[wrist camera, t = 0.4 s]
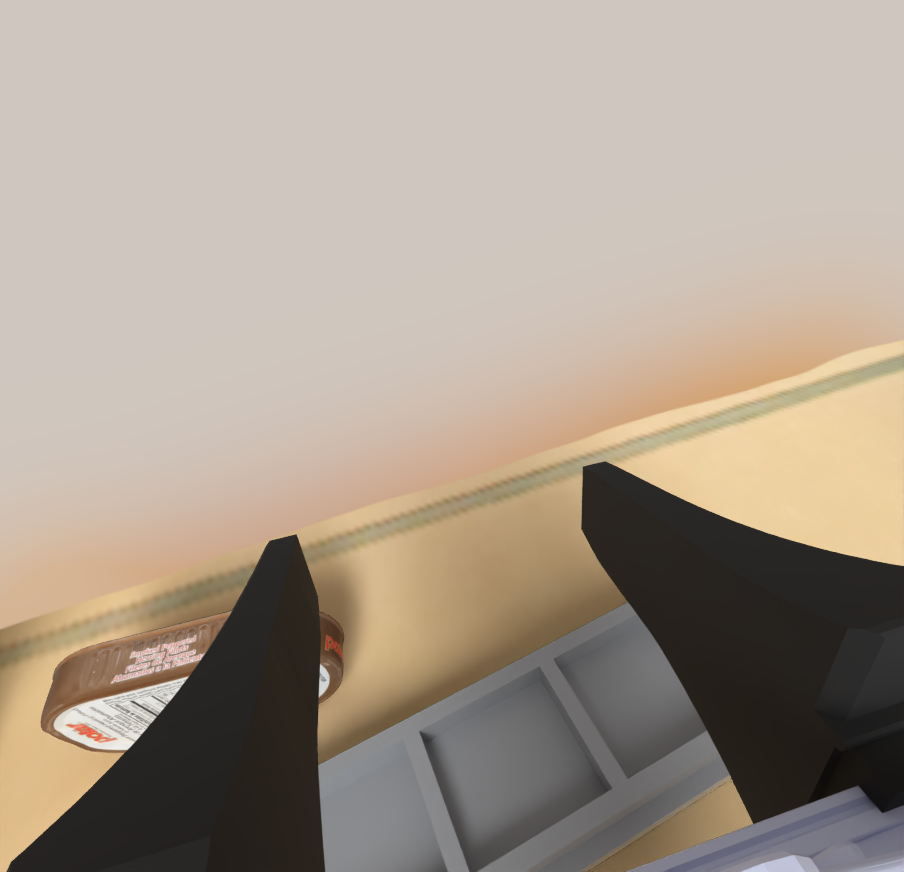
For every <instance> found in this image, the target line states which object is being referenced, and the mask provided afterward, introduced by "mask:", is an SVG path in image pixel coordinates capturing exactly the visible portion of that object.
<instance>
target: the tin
mask: <svg viewBox="0 0 904 872" xmlns="http://www.w3.org/2000/svg"><path fill="white" fill-rule="evenodd" d="M231 612H232V611H228V612H224V613H220V614H216V615H213V616H209V617H204V618H200V619H196V620H192V621H188V622H185V623H180V624H177V625H173V626H169V627H165V628H160V629H156V630H152V631H149V632H145V633H140V634H136V635H132V636H128V637H124V638H120V639H116V640H111V641H107V642H103V643H99V644H96V645H92V646H89V647H86V648H83V649H81V650H79V651H77V652H75V653H73V654H71V655H69V656H68V657H66V658H65V659H64V660H63V661H62V662H60V664H59V665H58V666H57V667H56V668H55V671H54V674H53V683H52V685H51V688H50V691H49V694H48V697H47V700H46V703H45V706H44V709H43V713H42V717H41V728H42V730H43V731H45V732H47V733H49V734H51V735H52V736H54V737H56V738H58V739H60V740H63V741H65V742H68V743H71V744H74V745H76V746H78V747H81V748H83V749H85V750H89V751H94V752H107V753H125V752H126V751H127V750H128V749H129V748H130V747H131V746H132V745H133V744H134V742H135V741H136V740H137V739H138V738H139V737H140V736H141V734H142V733H143V732H144V731H145V730H146V729H147V727H148V726H149V725H150V724H151V723H152V722H153V720H154V719H155V718H156V717H157V716H158V715H159V713H160V712H161V711H162V710H163V709H164V708H165V706H166V705H167V704H168V703H169V701H170V700H171V699H172V698H173V697H174V695H175V694H176V693H177V691H178V690H179V689H180V688H181V686H182V685H183V684H184V682H185V681H186V680H187V678H188V677H189V676H190V674H191V673H192V671H193V670H194V669H195V667H196V666H197V664H198V663H199V662H200V660H201V659H202V657H203V656H204V654H205V653H206V651H207V650H208V648H209V647H210V645H211V644H212V642H213V641H214V639H215V637H216V636H217V634H218V633H219V631H220V630H221V628H222V626H223V625H224V623H225V622H226V620H227V618H228V617H229V615H230V613H231ZM319 616H320V629H321V653H320V679H319V704H320V703H321V702H323V701H325V700H326V699H328V698H329V697H330V696H331V695H332V694H333V693H334V692H335V691H336V690H337V689H338V687H339V685H340V684H341V681H342V677H343V649H342V645H343V642H344V633H343V630H342V627H341V626H340V624H339V623H338V622H337V621H336V620H335V619H333V618H332V617H330V616H329V615H327V614H325V613H323V612H320V611H319Z"/></svg>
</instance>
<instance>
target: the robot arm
mask: <svg viewBox="0 0 904 872" xmlns="http://www.w3.org/2000/svg"><path fill="white" fill-rule="evenodd" d="M581 529H582V531H583V533H584V535H585V537H586V538H587V540H588V542H589V544H590V546H591V548H592V550H593V552H594V553H595V555H596V557H597V559H598V561H599V562H600V564H601V565H602V567H603V568H604V569H605V571H606V572H607V574H608V575H609V576H610V578H611V579H612V581H613V582H614V583H615V585H616V586H617V588H618V589H619V590H620V592H621V593H622V594H623V596H624V597H625V599H626V600H627V601H628V603H629V604H630V605H631V607H632V608H633V610H634V611H635V612H636V614H637V615H638V616H639V618H640V619H641V621H642V622H643V623H644V625H645V626H646V627H647V629H648V630H649V632H650V633H651V634H652V636H653V637H654V639H655V640H656V642H657V643H658V645H659V646H660V648H661V650H662V651H663V653H664V655H665V656H666V658H667V660H668V662H669V663H670V665H671V667H672V668H673V670H674V672H675V674H676V675H677V677H678V679H679V680H680V682H681V684H682V686H683V688H684V689H685V691H686V693H687V695H688V697H689V698H690V700H691V702H692V704H693V706H694V707H695V709H696V711H697V713H698V715H699V716H700V718H701V720H702V722H703V724H704V726H705V728H706V730H707V731H708V733H709V735H710V737H711V739H712V741H713V743H714V745H715V747H716V749H717V751H718V753H719V755H720V757H721V758H722V760H723V762H724V764H725V766H726V768H727V770H728V772H729V774H730V776H731V778H732V780H733V783H734V785H735V787H736V789H737V791H738V793H739V795H740V797H741V799H742V801H743V803H744V805H745V807H746V809H747V811H748V813H749V816H750V818H751V820H752V822H753V825H750V826H747V827H745V828H742V829H739V830H736V831H734V832H731V833H728V834H726V835H723V836H720V837H718V838H715V839H712V840H709V841H707V842H704V843H701V844H699V845H696V846H693V847H690V848H688V849H685V850H682V851H680V852H677V853H674V854H671V855H669V856H666V857H663V858H661V859H658V860H655V861H653V862H650V863H647V864H644V865H642V866H639V867H636V868H634V869H631V870H628V871H625V872H904V566H899V565H893V564H887V563H882V562H877V561H872V560H868V559H863V558H858V557H853V556H849V555H844V554H840V553H836V552H832V551H828V550H824V549H820V548H816V547H812V546H809V545H805V544H802V543H798V542H795V541H791V540H787V539H784V538H781V537H778V536H775V535H771V534H768V533H765V532H763V531H760V530H757V529H754V528H751V527H748V526H745V525H743V524H740V523H737V522H734V521H732V520H729V519H727V518H724V517H722V516H719V515H717V514H715V513H712V512H710V511H708V510H705V509H703V508H701V507H698V506H696V505H694V504H692V503H689V502H687V501H685V500H683V499H681V498H679V497H677V496H674V495H672V494H670V493H668V492H666V491H664V490H662V489H660V488H658V487H656V486H654V485H652V484H650V483H648V482H646V481H644V480H642V479H640V478H638V477H636V476H634V475H632V474H630V473H628V472H626V471H624V470H622V469H620V468H618V467H616V466H614V465H612V464H610V463H607V462H601V463H597V464H592V465H588V466H584V467H583V487H582V528H581ZM320 653H321V629H320V616H319V605H318V596H317V593H316V590H315V587H314V584H313V581H312V578H311V575H310V572H309V569H308V567H307V564H306V561H305V558H304V555H303V552H302V549H301V546H300V543H299V540H298V537H297V535H292V536H288V537H284V538H280V539H275V540H271V541H270V542H269V543H268V544H267V546H266V548H265V550H264V552H263V554H262V556H261V558H260V560H259V562H258V564H257V566H256V568H255V570H254V572H253V574H252V575H251V577H250V579H249V581H248V583H247V585H246V587H245V589H244V590H243V592H242V594H241V596H240V597H239V599H238V601H237V603H236V605H235V606H234V608H233V610H232V612H231V613H230V615H229V617H228V618H227V620H226V622H225V623H224V625H223V626H222V628H221V630H220V631H219V633H218V634H217V636H216V637H215V639H214V641H213V642H212V644H211V645H210V647H209V648H208V650H207V651H206V653H205V654H204V656H203V657H202V659H201V660H200V662H199V663H198V664H197V666H196V667H195V669H194V670H193V671H192V673H191V674H190V676H189V677H188V678H187V680H186V681H185V682H184V684H183V685H182V686H181V688H180V689H179V690H178V691H177V693H176V694H175V695H174V697H173V698H172V699H171V700H170V701H169V703H168V704H167V705H166V706H165V708H164V709H163V710H162V711H161V712H160V713H159V715H158V716H157V717H156V718H155V719H154V720H153V722H152V723H151V724H150V725H149V726H148V727H147V729H146V730H145V731H144V732H143V733H142V734H141V736H140V737H139V738H138V739H137V740H136V741H135V742H134V744H133V745H132V746H131V747H130V748H129V749H128V750H127V751H126V752H125V753H124V754H123V755H122V756H121V757H120V759H119V760H118V761H117V762H116V763H115V764H114V765H113V766H112V767H111V768H110V769H109V770H108V771H107V772H106V773H105V774H104V775H103V776H102V777H101V778H100V779H99V780H98V781H97V782H96V783H95V784H94V785H93V786H92V787H91V788H90V789H89V790H88V791H87V792H86V793H85V794H84V795H83V796H82V797H81V798H80V799H79V800H78V801H77V802H76V803H75V804H74V805H73V806H72V807H71V808H70V809H69V810H67V811H66V812H65V813H64V814H63V815H62V816H61V817H60V818H59V819H58V820H57V821H56V822H54V823H53V824H52V825H51V826H50V827H49V828H48V829H47V830H46V831H45V832H44V833H43V834H42V835H40V836H39V837H38V838H37V839H36V840H35V841H34V842H33V843H32V844H31V845H30V846H29V847H27V848H26V849H25V850H24V851H23V852H22V853H21V854H20V855H18V856H17V857H16V858H15V859H14V860H13V861H12V862H11V863H10V866H9V868H8V870H7V872H325V861H324V848H323V834H322V819H321V804H320V788H319V770H318V752H317V728H318V704H319V679H320Z"/></svg>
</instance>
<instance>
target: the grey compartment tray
mask: <svg viewBox="0 0 904 872" xmlns="http://www.w3.org/2000/svg"><path fill="white" fill-rule="evenodd" d="M318 770H319V788H320V804H321V819H322V834H323V848H324V861H325V872H588V871H589V870H591V869H592V868H594V867H595V866H597V865H599V864H600V863H602V862H603V861H605V860H606V859H608V858H609V857H611V856H612V855H614V854H616V853H617V852H619V851H620V850H622V849H623V848H625V847H626V846H628V845H629V844H631V843H633V842H634V841H636V840H637V839H639V838H640V837H642V836H643V835H645V834H646V833H648V832H650V831H651V830H653V829H654V828H656V827H657V826H659V825H660V824H662V823H663V822H665V821H667V820H668V819H670V818H671V817H673V816H674V815H676V814H677V813H679V812H680V811H682V810H684V809H685V808H687V807H688V806H690V805H691V804H693V803H694V802H696V801H697V800H699V799H701V798H702V797H704V796H705V795H707V794H708V793H710V792H711V791H713V790H714V789H716V788H718V787H719V786H721V785H722V784H724V783H725V782H727V781H728V780H730V779H731V776H730V774H729V772H728V770H727V768H726V766H725V764H724V762H723V760H722V758H721V757H720V755H719V753H718V751H717V749H716V747H715V745H714V743H713V741H712V739H711V737H710V735H709V733H708V731H707V730H706V728H705V726H704V724H703V722H702V720H701V718H700V716H699V715H698V713H697V711H696V709H695V707H694V706H693V704H692V702H691V700H690V698H689V697H688V695H687V693H686V691H685V689H684V688H683V686H682V684H681V682H680V680H679V679H678V677H677V675H676V674H675V672H674V670H673V668H672V667H671V665H670V663H669V662H668V660H667V658H666V656H665V655H664V653H663V651H662V650H661V648H660V646H659V645H658V643H657V642H656V640H655V639H654V637H653V636H652V634H651V633H650V632H649V630H648V629H647V627H646V626H645V625H644V623H643V622H642V621H641V619H640V618H639V616H638V615H637V614H636V612H635V611H634V610H633V608H632V607H631V605H630V604H629V603H628V602H627V603H625V604H623V605H622V606H620V607H618V608H616V609H614V610H612V611H610V612H608V613H606V614H604V615H603V616H601V617H599V618H597V619H595V620H593V621H591V622H589V623H587V624H585V625H584V626H582V627H580V628H578V629H576V630H574V631H572V632H570V633H568V634H566V635H565V636H563V637H561V638H559V639H557V640H555V641H553V642H551V643H549V644H547V645H546V646H544V647H542V648H540V649H538V650H536V651H534V652H532V653H530V654H528V655H527V656H525V657H523V658H521V659H519V660H517V661H515V662H513V663H511V664H509V665H508V666H506V667H504V668H502V669H500V670H498V671H496V672H494V673H492V674H491V675H489V676H487V677H485V678H483V679H481V680H479V681H477V682H475V683H473V684H472V685H470V686H468V687H466V688H464V689H462V690H460V691H458V692H456V693H454V694H453V695H451V696H449V697H447V698H445V699H443V700H441V701H439V702H437V703H435V704H434V705H432V706H430V707H428V708H426V709H424V710H422V711H420V712H418V713H416V714H415V715H413V716H411V717H409V718H407V719H405V720H403V721H401V722H399V723H397V724H396V725H394V726H392V727H390V728H388V729H386V730H384V731H382V732H380V733H378V734H377V735H375V736H373V737H371V738H369V739H367V740H365V741H363V742H361V743H359V744H358V745H356V746H354V747H352V748H350V749H348V750H346V751H344V752H342V753H340V754H339V755H337V756H335V757H333V758H331V759H329V760H327V761H325V762H323V763H321V764H320V765H318Z"/></svg>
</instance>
